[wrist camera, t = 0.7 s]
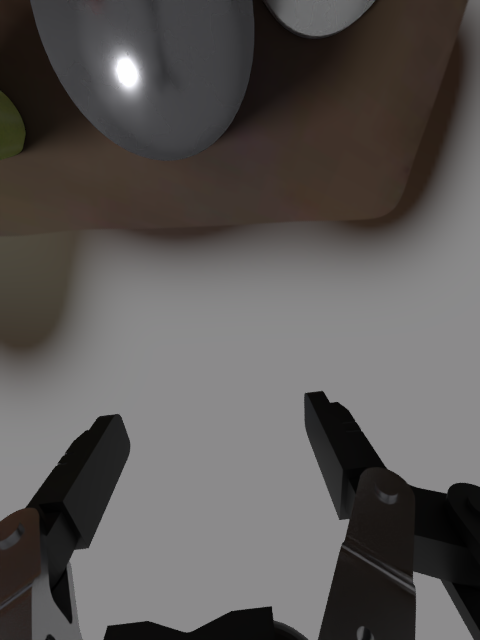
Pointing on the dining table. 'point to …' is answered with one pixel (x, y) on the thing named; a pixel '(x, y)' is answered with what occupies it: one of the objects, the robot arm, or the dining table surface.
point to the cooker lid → (316, 15)
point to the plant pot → (10, 129)
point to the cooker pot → (152, 67)
